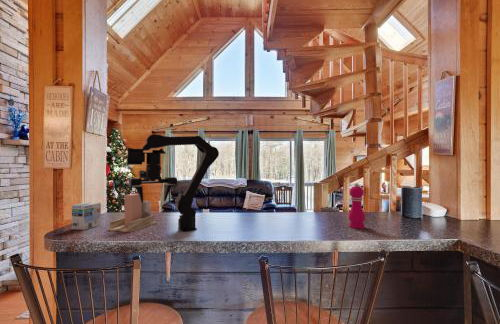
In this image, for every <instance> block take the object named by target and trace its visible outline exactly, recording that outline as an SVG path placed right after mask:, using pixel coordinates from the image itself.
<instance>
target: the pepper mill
mask: <svg viewBox="0 0 500 324" xmlns="http://www.w3.org/2000/svg"><path fill="white" fill-rule="evenodd" d="M364 194H365V192H364V189H363V187H361V186H360V185H359V183H358V182H356V183H354V186H352V187H351V188H350V189H349V195H350V201H351V208H350V210H349V213H348V216H347V218H348V220H349V221H350V222H349V227H350V228H351V229H359V230H361V229H364V228H365V223H364V222H365V220H366V214H365V212H364V210H363V207H362V202H363V196H364Z"/></svg>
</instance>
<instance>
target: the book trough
mask: <svg viewBox="0 0 500 324" xmlns="http://www.w3.org/2000/svg"><path fill="white" fill-rule="evenodd" d="M155 224H157V221H155V215H153V214H152V201H151V200H143V203H141V219H139V220H135V221H132V222H129V223H127V226H125V217H122V218H119V219H115V220H111V221H109V227H108V228H107V231H109V230H110V231H111V232H126V233H134V232H135V231H138V230H141V229H144V228H148V227H150V226H153V225H155ZM110 231H109V232H110Z"/></svg>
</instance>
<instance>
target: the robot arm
mask: <svg viewBox="0 0 500 324" xmlns="http://www.w3.org/2000/svg"><path fill="white" fill-rule="evenodd" d="M193 145H194V146H195V147H196V148H197V150H198V151H200V152H201V153H202V154H201V157H200V163H199V165H198V166H197V168H196V170H195V172H194V174H193V176H192V178H191V180H190V182H189V184H188V185H187V187H186V189H185V190H184V192H182V193H180V192H179V193H178V195H177V198H176V199H174V202H175V203H174V208H175V209H176V211H178V212H179V214H180V215H179V218H178V220H177V221H178V223H177V225H178V226H177V228H178V230H180V231H182V232H187V231H188V232H191V231H195V230H198V228H197V227H196V214H197V211H196V210H195V209H194V208H193V206H192V205H193V202H194V197H195V195H196V192H197V190H198V188H199V187H200V185H201V183H202V181H203V180H204V179H203V178H204V177H205V175H206V174H207V171H208V169H209V167H211V165H213V164H214V163H215V161H216V160H217V159H218V158H219V155H220V152H219V149H218V148H217V147H215V146H213V145H212V144H210V143H208V142H207V141H206V140H205V139H204V138H203V137H202V136H200V135H195V136H193V135H192V136H191V135H190V136H188V135H187V136H186V135H185V136H167V135H162V134H155V133H154V134H150V135H149V136H148V137H146V139H145V145H143V146H142V147H141V148H133V147H127V156H126V164H127V166H129V165H130V166H132V165H133V166H136V165H137V166H140V165H143V163H146V167H145V170H143V169H142V170H139V171H138V173H139V174H138V176H139V177H131V178H129V179H128V186H131V187H132V188H134V189H136V192H137V194H139V197H140V200H141V203H143V201H144V192H143V191H144V190H143V186H142V185H144V184H145V185H146V184H163V187H164V188H163V189H164V190H163V191H164V192H163V201H164V202H166V200H167V198H168V195H169V194H170V192H171V189H172V188H173V187H175V185H178V178H177V177H174V176H170V177H169V176H165V177H164V178H162V175H161V174H162V166H161V165H162V162H161V160H162V155H165V154H166V151H164V149H163V147H164V148H165V147H168V146H193ZM149 150H151V152H146V151H149Z"/></svg>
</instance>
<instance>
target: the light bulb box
mask: <svg viewBox="0 0 500 324" xmlns="http://www.w3.org/2000/svg"><path fill="white" fill-rule="evenodd" d="M101 204H102V203H101V202H96V201H95V202H92V201H89V202H83V203H78V204H72V205H71V230H82V231H85V230H87V229H91V228H94V227H95V226H96V227H99V226H101V224H102V223H101V222H102V221H101V219H102V217H101V216H102V212H101V211H102V210H101V209H102V207H101V206H102V205H101Z"/></svg>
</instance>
